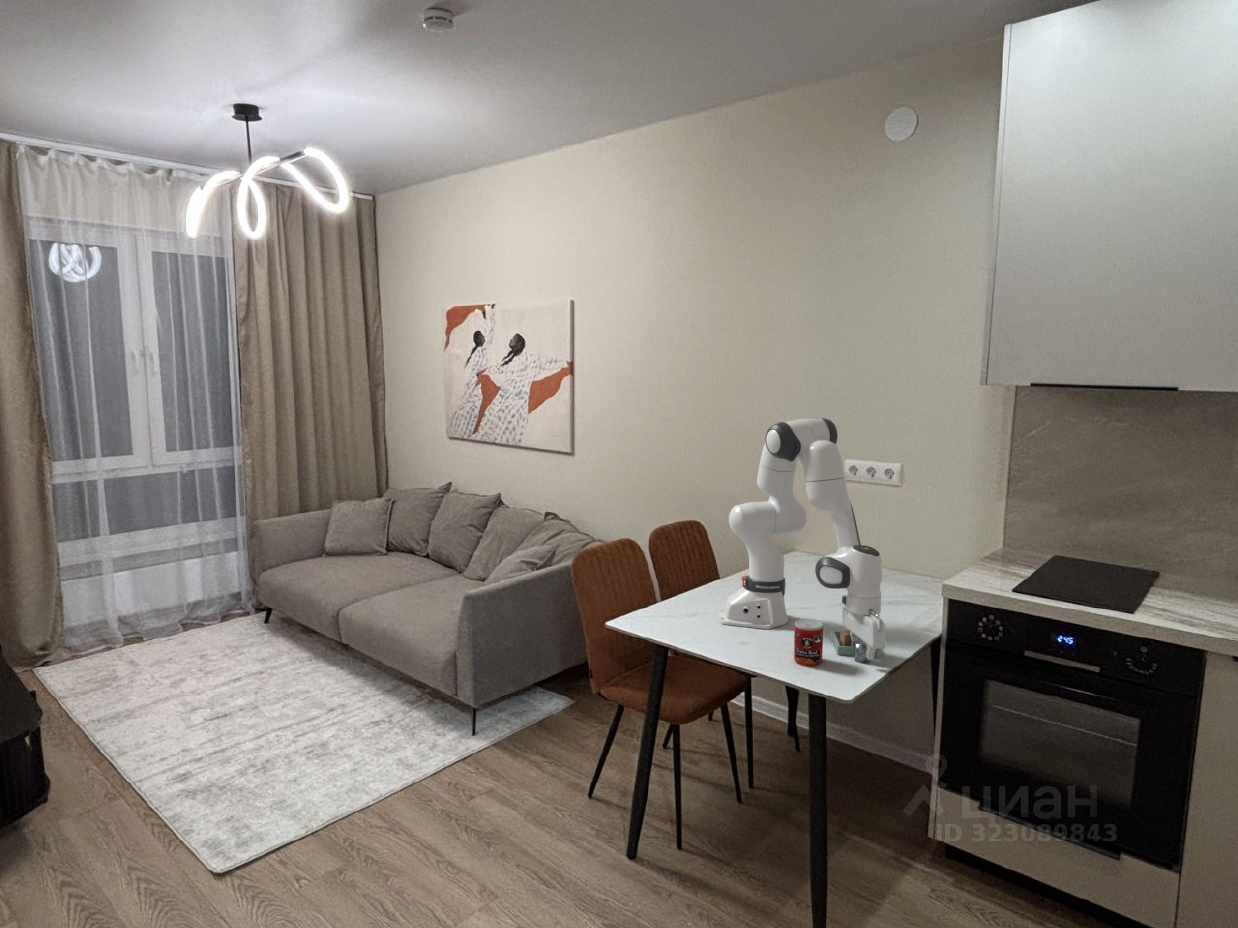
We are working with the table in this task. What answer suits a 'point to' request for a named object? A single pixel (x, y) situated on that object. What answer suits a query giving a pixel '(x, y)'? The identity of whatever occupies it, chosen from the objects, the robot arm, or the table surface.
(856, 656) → the metal peg
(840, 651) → the tray
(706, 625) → the table surface
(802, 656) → the canned food
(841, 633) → the walnut block
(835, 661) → the table surface
